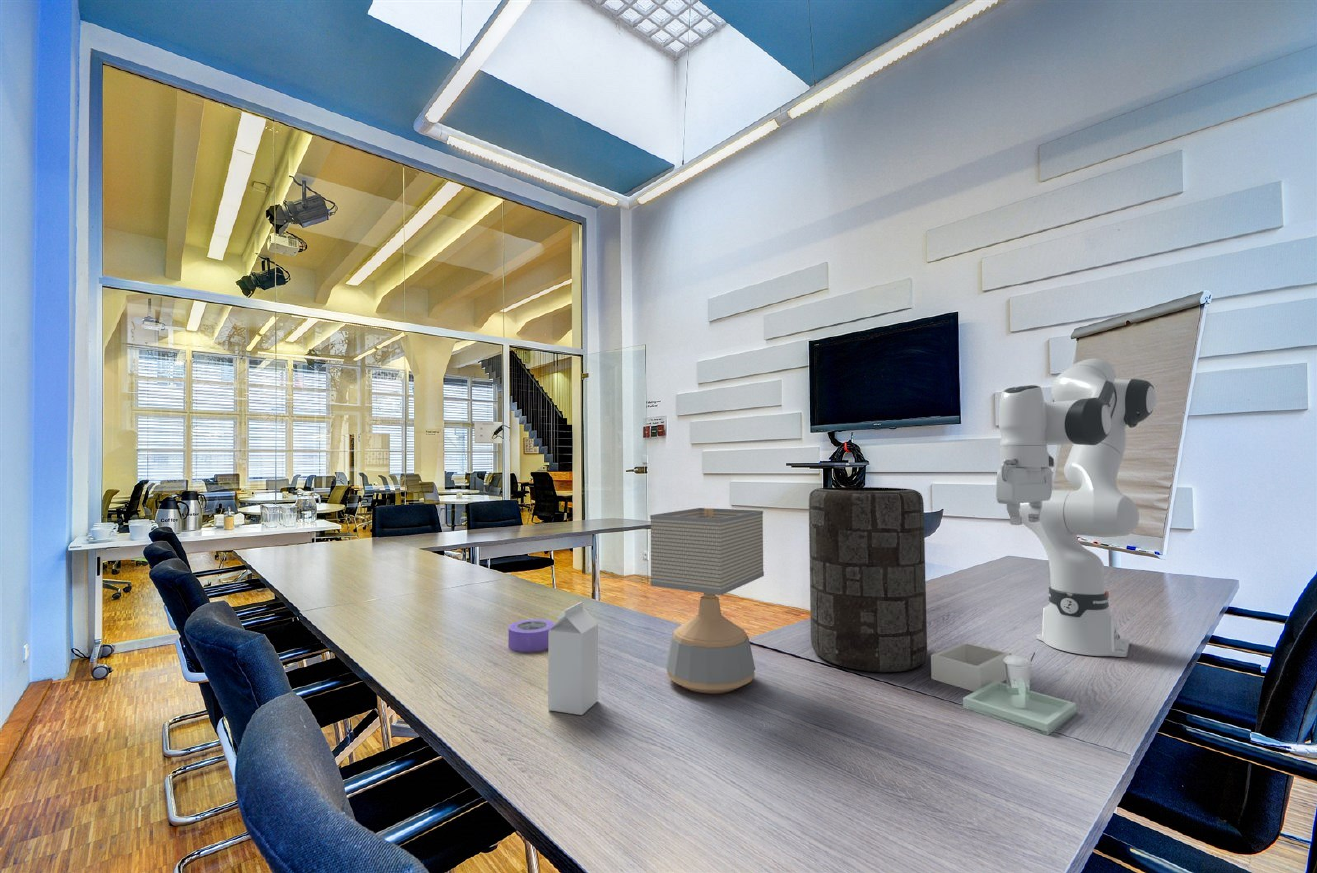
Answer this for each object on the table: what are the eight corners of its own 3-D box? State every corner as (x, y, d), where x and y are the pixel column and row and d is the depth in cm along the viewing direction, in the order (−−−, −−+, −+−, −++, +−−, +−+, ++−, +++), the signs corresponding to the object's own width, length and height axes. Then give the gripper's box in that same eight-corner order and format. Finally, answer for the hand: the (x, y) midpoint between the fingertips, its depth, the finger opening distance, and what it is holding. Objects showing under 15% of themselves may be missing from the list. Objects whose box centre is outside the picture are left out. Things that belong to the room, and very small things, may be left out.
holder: (964, 663, 133) (964, 641, 133) (1012, 676, 125) (1011, 653, 125) (931, 679, 124) (930, 655, 124) (980, 693, 116) (979, 668, 116)
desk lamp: (729, 710, 108) (727, 514, 110) (644, 689, 118) (644, 510, 120) (771, 674, 127) (769, 506, 128) (695, 658, 137) (694, 503, 138)
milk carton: (598, 701, 113) (598, 603, 114) (581, 716, 106) (582, 612, 107) (565, 696, 115) (566, 600, 116) (547, 711, 108) (548, 608, 109)
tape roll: (549, 652, 142) (549, 632, 143) (502, 652, 143) (502, 632, 143) (558, 638, 154) (558, 619, 154) (515, 638, 154) (515, 619, 155)
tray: (995, 689, 118) (995, 680, 118) (1076, 713, 106) (1076, 703, 107) (963, 707, 109) (962, 698, 109) (1047, 735, 98) (1047, 724, 98)
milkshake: (1042, 712, 106) (1040, 656, 106) (1010, 709, 107) (1008, 654, 107) (1031, 701, 110) (1029, 648, 111) (1000, 699, 111) (999, 647, 112)
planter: (950, 660, 135) (945, 489, 137) (882, 685, 120) (878, 493, 122) (855, 633, 157) (853, 485, 159) (788, 651, 142) (786, 488, 144)
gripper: (1019, 459, 117) (1021, 528, 116) (1057, 459, 129) (1059, 521, 128) (986, 459, 122) (988, 525, 121) (1026, 459, 134) (1028, 519, 133)
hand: (1025, 523), depth 125 cm, fingers open, 8 cm apart
